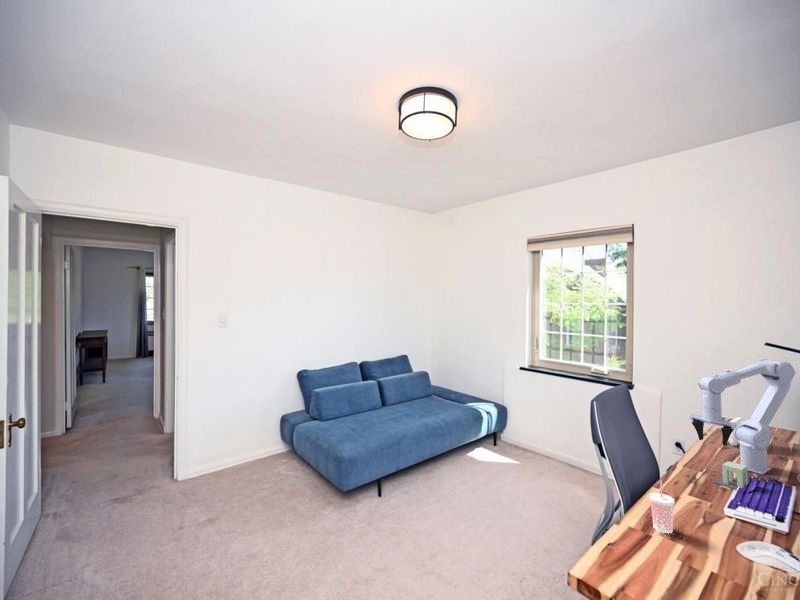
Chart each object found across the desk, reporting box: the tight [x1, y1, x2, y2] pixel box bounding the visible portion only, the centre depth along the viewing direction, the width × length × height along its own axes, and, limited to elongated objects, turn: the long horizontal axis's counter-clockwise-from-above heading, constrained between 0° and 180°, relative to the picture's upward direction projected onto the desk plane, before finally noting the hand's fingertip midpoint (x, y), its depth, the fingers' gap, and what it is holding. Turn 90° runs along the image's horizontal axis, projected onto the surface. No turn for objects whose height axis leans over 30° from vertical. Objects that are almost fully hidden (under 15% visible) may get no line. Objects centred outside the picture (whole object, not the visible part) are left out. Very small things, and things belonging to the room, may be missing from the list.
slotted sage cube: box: [721, 460, 749, 488], centre depth 136 cm, size 6×6×6 cm
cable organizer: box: [728, 416, 757, 447], centre depth 173 cm, size 15×11×12 cm
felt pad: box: [712, 475, 738, 491], centre depth 136 cm, size 10×10×1 cm
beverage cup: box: [648, 479, 676, 535], centre depth 110 cm, size 6×6×14 cm
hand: (712, 442), depth 150 cm, fingers open, 7 cm apart
